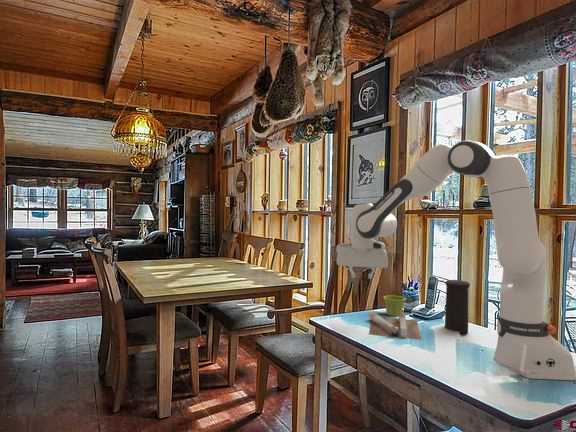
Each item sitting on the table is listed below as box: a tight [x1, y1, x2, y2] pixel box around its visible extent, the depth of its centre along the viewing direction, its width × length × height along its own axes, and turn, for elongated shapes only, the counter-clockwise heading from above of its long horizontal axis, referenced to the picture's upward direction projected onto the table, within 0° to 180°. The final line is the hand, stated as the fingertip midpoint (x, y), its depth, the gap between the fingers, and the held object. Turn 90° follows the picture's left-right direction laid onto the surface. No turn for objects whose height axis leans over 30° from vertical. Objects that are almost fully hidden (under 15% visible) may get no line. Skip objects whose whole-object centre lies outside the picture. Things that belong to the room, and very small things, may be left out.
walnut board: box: [368, 316, 422, 341], centre depth 147 cm, size 18×25×2 cm
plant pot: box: [383, 295, 407, 317], centre depth 167 cm, size 9×9×9 cm
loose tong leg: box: [369, 312, 398, 336], centre depth 146 cm, size 2×22×3 cm, turn 10°
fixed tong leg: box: [398, 313, 408, 339], centre depth 145 cm, size 2×22×3 cm, turn 165°
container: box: [444, 279, 471, 336], centre depth 147 cm, size 9×9×20 cm
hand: (361, 278), depth 153 cm, fingers open, 5 cm apart
